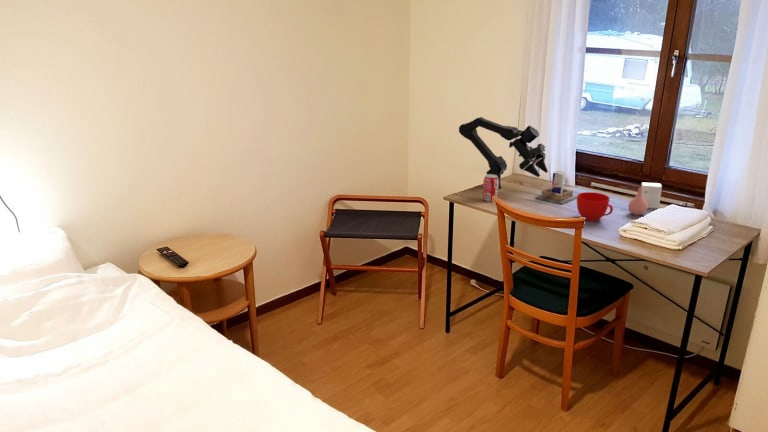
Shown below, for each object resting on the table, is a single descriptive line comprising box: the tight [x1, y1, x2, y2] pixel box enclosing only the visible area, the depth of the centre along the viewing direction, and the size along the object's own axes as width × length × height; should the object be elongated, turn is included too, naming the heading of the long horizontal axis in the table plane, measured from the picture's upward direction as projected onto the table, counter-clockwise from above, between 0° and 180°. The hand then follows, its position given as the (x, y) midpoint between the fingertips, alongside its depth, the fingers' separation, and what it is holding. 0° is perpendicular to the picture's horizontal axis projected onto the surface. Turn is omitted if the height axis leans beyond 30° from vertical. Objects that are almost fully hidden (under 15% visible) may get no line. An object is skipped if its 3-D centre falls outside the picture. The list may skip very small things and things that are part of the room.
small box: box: [640, 181, 663, 210], centre depth 253 cm, size 8×6×10 cm
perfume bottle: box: [627, 187, 648, 216], centre depth 243 cm, size 8×8×12 cm
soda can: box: [482, 173, 499, 202], centre depth 266 cm, size 7×7×12 cm
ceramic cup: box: [576, 191, 614, 222], centre depth 237 cm, size 13×17×10 cm
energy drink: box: [551, 170, 566, 194], centre depth 266 cm, size 5×5×12 cm
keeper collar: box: [535, 186, 577, 206], centre depth 268 cm, size 14×14×4 cm
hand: (543, 174), depth 269 cm, fingers open, 9 cm apart
